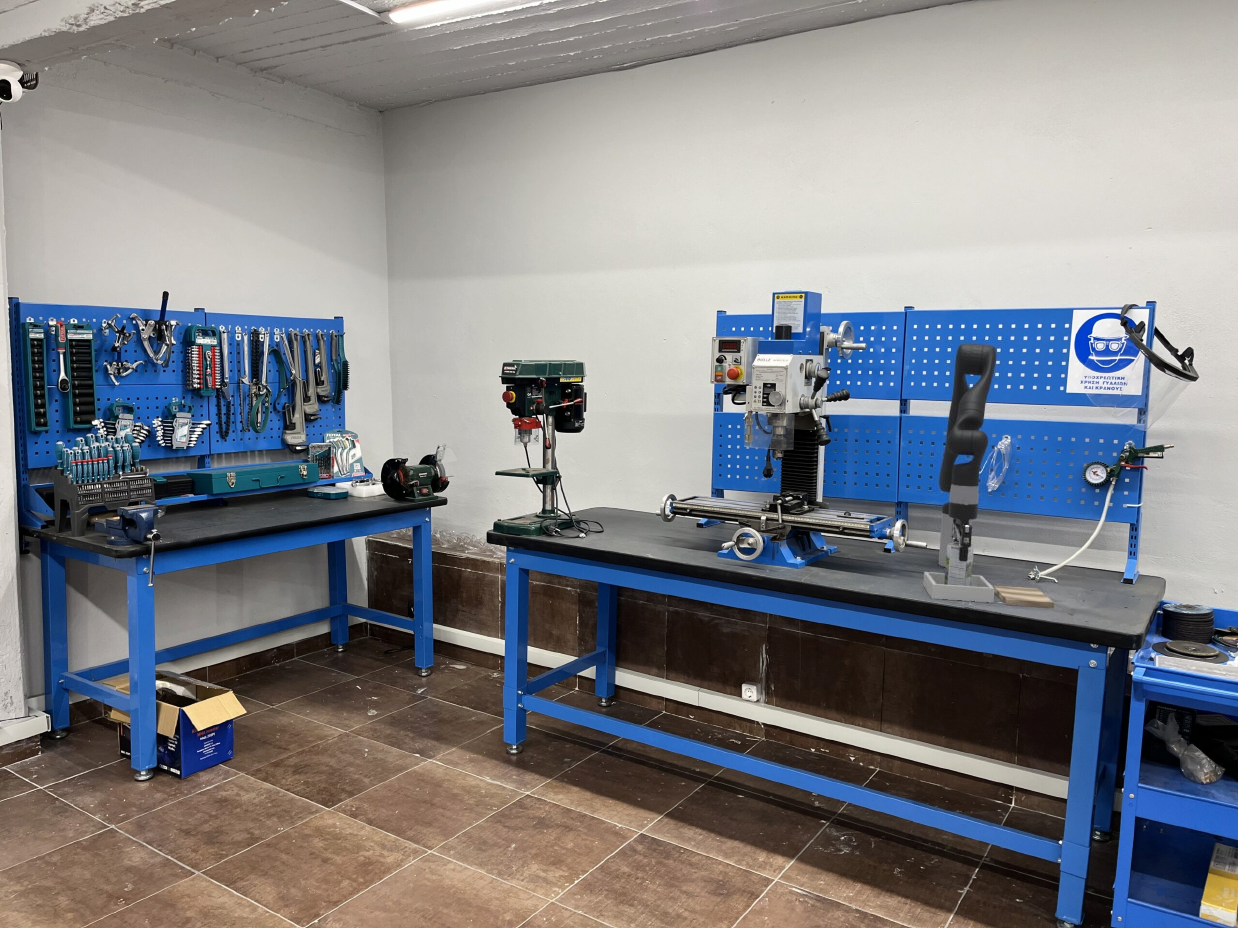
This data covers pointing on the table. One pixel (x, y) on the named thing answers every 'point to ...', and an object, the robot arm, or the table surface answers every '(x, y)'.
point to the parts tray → (958, 588)
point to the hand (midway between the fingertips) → (960, 558)
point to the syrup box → (958, 566)
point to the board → (1023, 596)
